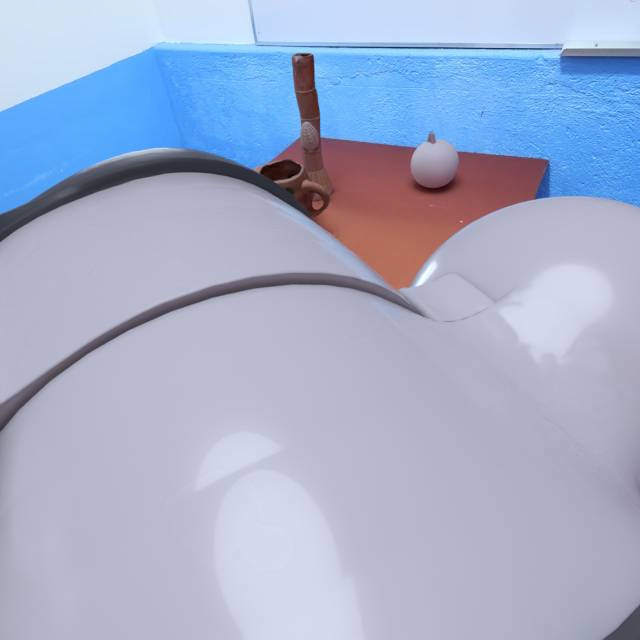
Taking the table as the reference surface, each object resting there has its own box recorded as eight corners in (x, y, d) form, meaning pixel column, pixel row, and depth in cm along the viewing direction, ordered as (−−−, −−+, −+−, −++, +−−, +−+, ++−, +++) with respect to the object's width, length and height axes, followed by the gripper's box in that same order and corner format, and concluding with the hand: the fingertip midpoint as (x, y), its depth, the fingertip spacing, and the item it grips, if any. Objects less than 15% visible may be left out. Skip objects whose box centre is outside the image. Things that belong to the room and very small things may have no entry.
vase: (323, 204, 109) (302, 62, 89) (295, 200, 112) (270, 62, 92) (342, 182, 115) (327, 45, 95) (316, 179, 118) (296, 46, 98)
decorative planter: (345, 219, 103) (339, 158, 93) (325, 251, 95) (315, 188, 86) (266, 211, 110) (252, 154, 101) (240, 240, 102) (223, 181, 93)
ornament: (402, 189, 109) (401, 138, 101) (427, 170, 114) (428, 121, 106) (441, 200, 103) (443, 147, 95) (465, 180, 108) (469, 128, 100)
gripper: (512, 407, 54) (395, 380, 59) (483, 593, 40) (334, 537, 46) (505, 438, 58) (396, 410, 63) (476, 615, 45) (341, 562, 50)
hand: (369, 465), depth 54 cm, fingers open, 8 cm apart
